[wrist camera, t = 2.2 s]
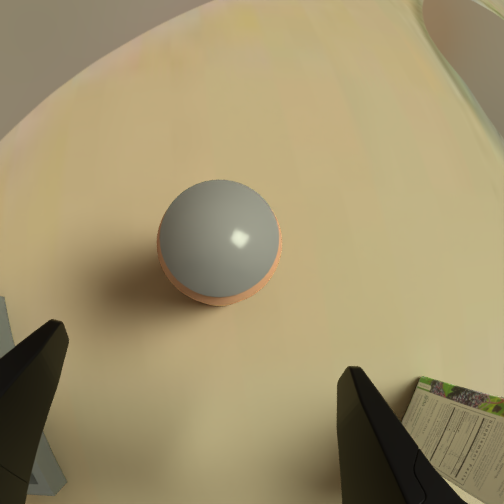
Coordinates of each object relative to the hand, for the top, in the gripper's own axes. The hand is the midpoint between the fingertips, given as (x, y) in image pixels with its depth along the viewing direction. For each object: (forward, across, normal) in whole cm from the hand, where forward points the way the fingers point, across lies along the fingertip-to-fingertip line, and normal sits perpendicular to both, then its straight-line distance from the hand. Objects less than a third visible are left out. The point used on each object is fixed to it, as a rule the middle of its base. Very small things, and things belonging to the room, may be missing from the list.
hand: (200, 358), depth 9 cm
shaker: (+10, 0, +5) cm, 12 cm away
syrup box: (+4, -18, +12) cm, 22 cm away
